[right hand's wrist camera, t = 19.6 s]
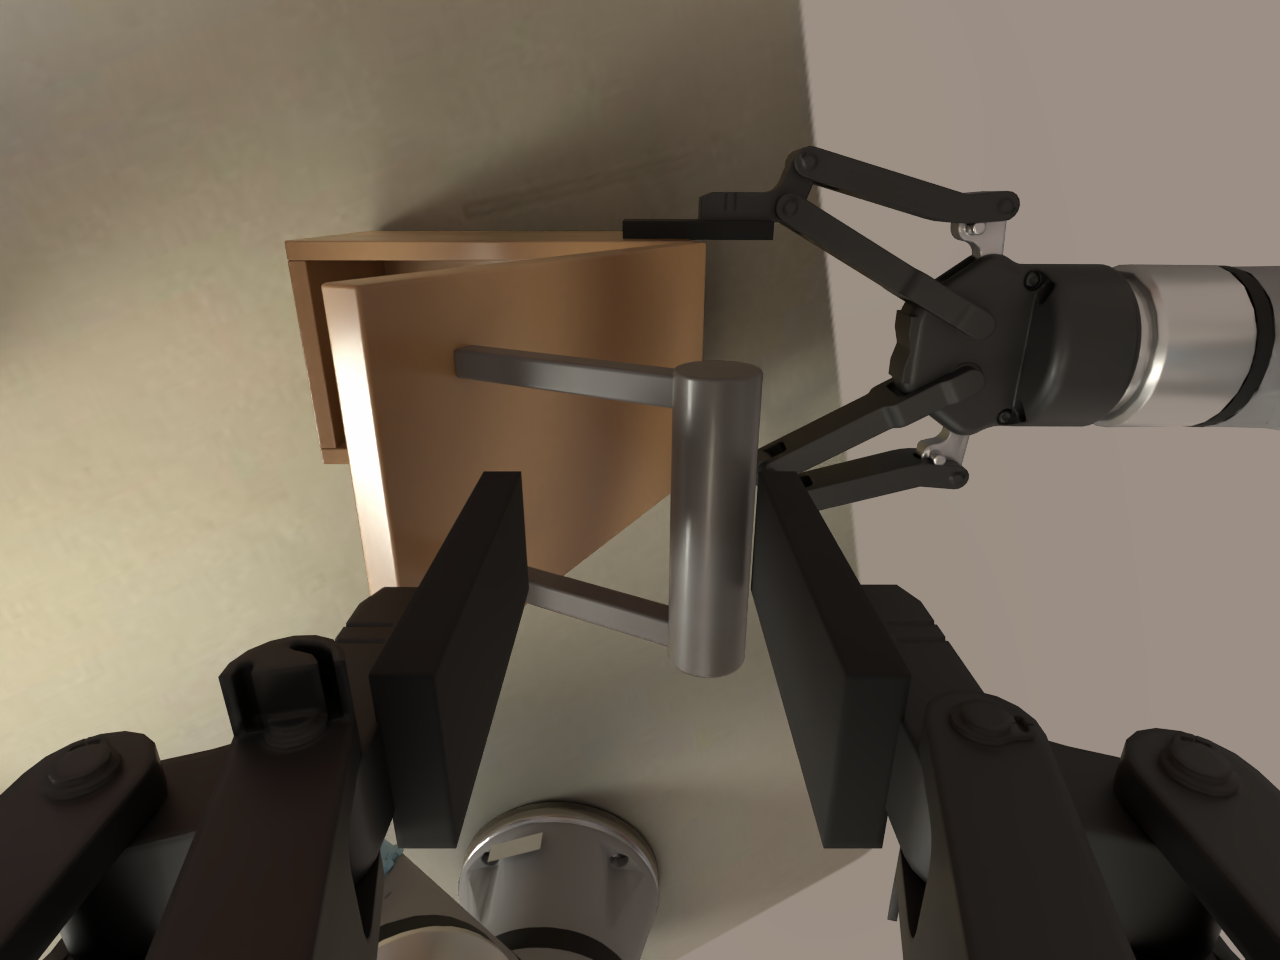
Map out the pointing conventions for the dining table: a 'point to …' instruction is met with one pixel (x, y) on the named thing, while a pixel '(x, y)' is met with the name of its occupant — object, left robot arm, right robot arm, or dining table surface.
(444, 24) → the dining table surface
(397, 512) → the lid
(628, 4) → the dining table surface
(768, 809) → the dining table surface
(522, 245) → the chest
